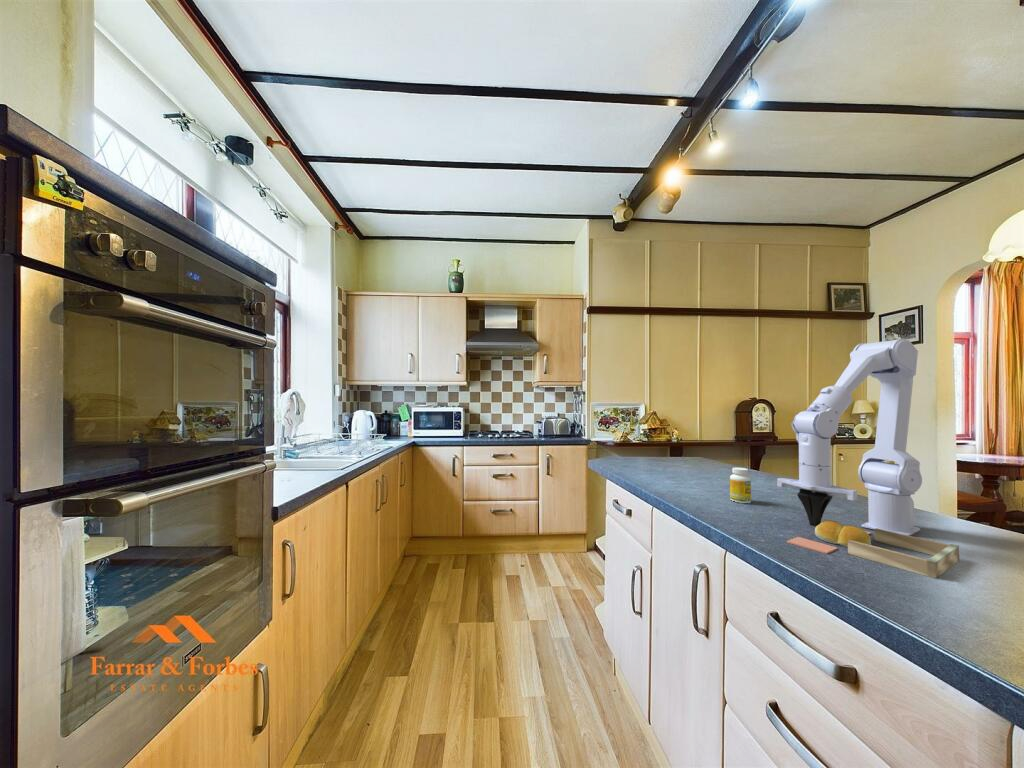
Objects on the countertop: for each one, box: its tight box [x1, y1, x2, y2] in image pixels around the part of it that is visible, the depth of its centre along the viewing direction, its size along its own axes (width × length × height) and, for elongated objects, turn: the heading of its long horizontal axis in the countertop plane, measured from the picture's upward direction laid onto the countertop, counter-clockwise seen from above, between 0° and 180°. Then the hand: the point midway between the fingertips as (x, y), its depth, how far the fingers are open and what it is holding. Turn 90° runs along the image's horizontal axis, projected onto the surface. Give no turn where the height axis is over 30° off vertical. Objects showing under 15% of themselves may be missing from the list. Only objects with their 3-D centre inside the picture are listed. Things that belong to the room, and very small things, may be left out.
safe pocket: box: [847, 528, 960, 579], centre depth 76 cm, size 15×12×3 cm
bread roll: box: [814, 520, 872, 548], centre depth 84 cm, size 8×9×4 cm
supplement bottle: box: [729, 467, 752, 504], centre depth 115 cm, size 5×5×10 cm
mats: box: [786, 530, 872, 555], centre depth 86 cm, size 23×7×1 cm, turn 121°
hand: (815, 525), depth 88 cm, fingers closed
